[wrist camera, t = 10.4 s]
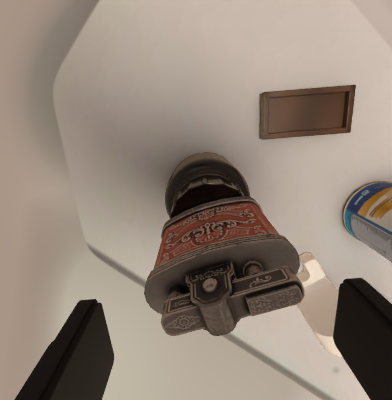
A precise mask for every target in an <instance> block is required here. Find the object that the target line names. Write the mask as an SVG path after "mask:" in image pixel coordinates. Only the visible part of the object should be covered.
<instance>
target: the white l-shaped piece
mask: <svg viewBox="0 0 392 400" xmlns="http://www.w3.org/2000/svg"><path fill="white" fill-rule="evenodd" d="M299 258H300V260H301V262H302V263H303V265H304V270H303V271H302V272H301V273H299V274H296V276H297V277H298V278H299V280H300V281H301V283H302V285H303V288H304V295H305V296H304V298H303V299H302V301H301V302H300V303H298V304H297V305H298V307H299V309H300V310H301V312H302V314H303V316H304V317H305V319H306V321H307V322H308V324H309V326H310V327H311V329H312V331H313V332H314V334H315V335H316V337H317V339H318V340H319V342H320V344H321V345H322V346H323V348H324V349H325V350H327V351H328V352H329V353H331V354H334V355H336V356H341V357H342V355H341V353H340V352H339V350H338V349H337V347H336V346H335V343H334V340H333V332H334V324H335V317H336V309H337V302H338V294H339V291H338V290H337V289H336V287H335V286H334V285H333V284H332V283H331V282H330V281H329V279H328V278H327V277H326V276H325V274H324V272H323V270H322V268H321V267H320V265H319V263H318V261H317V260H316V259H315V258H314V257H313V256H312V255H311V254H310V253H309V252H306V253H304V254H302V255H300V256H299Z"/></svg>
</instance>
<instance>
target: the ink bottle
mask: <svg viewBox="0 0 392 400" xmlns="http://www.w3.org/2000/svg"><path fill="white" fill-rule="evenodd" d="M242 196H248V197H250V192H249V188H248V185H247V183H246V181H245V179H244V177H243V176H242V174H241V173H240V172H239V171H238V170H237V169H236V168H235V167H234V166H233V165H232V164H231V163H230V162H229V161H228V160H227V159H225V158H224V157H222V156H220V155H218V154H214V153H208V152H205V153H198V154H195V155H192V156H190V157H188V158H186V159H185V160H184V161H182V162H181V163H180V164H179V165H178V167H177V168H176V169H175V171H174V173H173V175H172V176H171V178H170V181H169V183H168V186H167V189H166V194H165V205H166V210H167V213H168V215H169V217H170V219H172V218H174V217H175V216H177V215H179V214H181V213H183V212H185V211H187V210H189V209H192V208H195V207H197V206H200V205H202V204H205V203H209V202H213V201H217V200H221V199H226V198H234V197H242Z"/></svg>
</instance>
